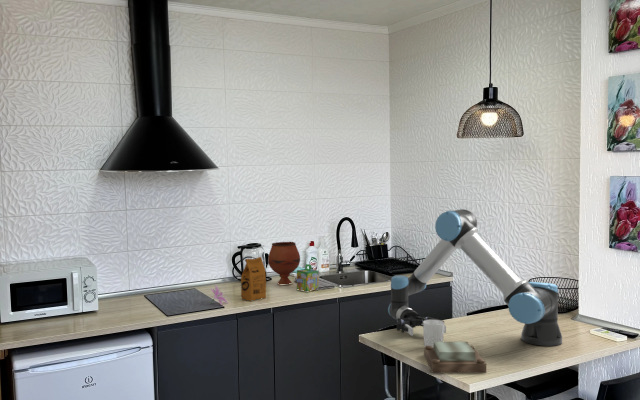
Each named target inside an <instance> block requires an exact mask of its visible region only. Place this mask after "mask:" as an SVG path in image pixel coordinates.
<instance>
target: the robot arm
mask: <svg viewBox="0 0 640 400" xmlns="http://www.w3.org/2000/svg"><path fill="white" fill-rule="evenodd" d="M434 226H435V227H434V228H435V233H436V235H437V236H438V237H439V239H440V240H439V241H438V243H436V245H434V247H433V249H432V250H431V251H430V252H429V253H428V254H427V256H426V257H425V258H424V259H423V261H422V262H421V263H420V264H419V265H418V267H416V269H415V270H414V271H413V273H412V274H411V275H410V276H406V275H401V274H400V275H394V276H392V277H391V280H390V303H389V305H388V308H387V312H388V314H389V316H390V317H391V318H392V319H394V320H395V321H396V322H397V323H396V331H397V332H399V331H401V333H403V334H404V333H407V334H409V335H410V336H412V337H413V336H414V328H416V327H423V321H425V320H440V321H443V322H444V323H445V320H442V319H440V318H434V317H431V316H425V317H422V316H420V315H419V313H418V312H417V311H415V310H413V309H412V308H410V307H409V296H411V295H414V294H417V293H421V292H422V291H424V290H425V289H426V288H427V283H428V282H429V281H430V280H431V279H432V278H433V276H434V275H435V274H436V273H437V272H438V271H439V269H441V268H442V266H443V265H444V264H445V263H446V262H447V260H448V259H449V258H450V257H451V255H453V253H455V251H456V250H459V249H460V250H461V251H462V252H463V253H464V254H465V255H466V256H467V257H468V258H469V259H470V260H471V261H472V262H473V264H475V266H477V268H478V269H479V270H480V271H481V272H482V273H483V274H484V275H485V277H487V279H489V281H490V282H491V283H492V284H493V285H494V287H495V288H496V289H498V291H500V292H501V294H502V295H503V300H502V301H503V302H504V303H506V305H507V306H508V312H509V314H510V316H511V317H512V318H513V319H514V320H515V321H516V322H518V323H521V324H524V325H523V328H522V331H521V333H520V334H521V335H520V337H521V338H520V339H521V341H522V342H524V343H527V344H530V345H534V346H540V347H541V346H542V347H544V346H545V347H549V346H550V347H553V346H560V345H561V344H563V336H562V332H561V328H560V326H559V321H558V318H559V317H558V315H559V313H558V311H559V310H558V309H559V305H558V303H559V302H558V301H559V289H558V285H556V284H554V283H550V282H548V283H547V282H538V281H528V280H525V279H521V278H520V277H518V276H517V275H516V273H515V272H514V271H513V270H512V269H511V268H510V267H509V266H508V265H507V264H506V263H505V262H504V261H503V260H502V258H500V257H499V255H497V253H495V251H494V250H493V249H492V248H491V247H490V246H489V245H488V244H487V243H486V242H485V241H484V239H482V237H480V236H479V234H478V228H477V227H478V220H477V217H476V215H475V214H474V213H473V212H471V211H470V210H468V209H463V208H461V209H457V210H456V209H455V210H447V211H444V212H442V213H441V214H440V215H439V216H438V217H437V218H436V220H435V225H434ZM446 333H447V326H446V324H444V334H446Z"/></svg>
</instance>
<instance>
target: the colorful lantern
mask: <svg viewBox="0 0 640 400" xmlns="http://www.w3.org/2000/svg"><path fill="white" fill-rule="evenodd" d="M316 288H318V289H319V270H317V269H312V264H307V263H305V266H304V269H296V290H297V289H299V290H304V291H310V290H315V289H316ZM299 290H298V291H299Z"/></svg>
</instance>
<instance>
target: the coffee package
mask: <svg viewBox="0 0 640 400" xmlns="http://www.w3.org/2000/svg"><path fill="white" fill-rule="evenodd" d="M244 261H245V266H244V269H243V270H242V274H241V279H240V283H241V284H240V297H241V299H242V300H243V299H245V300H244V301H247V300H249V301H248V302H252V301H251V300H254V301H257V300H256V299H261V298H263V299H266V298H267V278H266V269H265V265H264V263H263V259H262V256H258V257H256V258H245V259H244ZM265 297H266V298H265ZM261 300H262V299H261Z"/></svg>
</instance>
